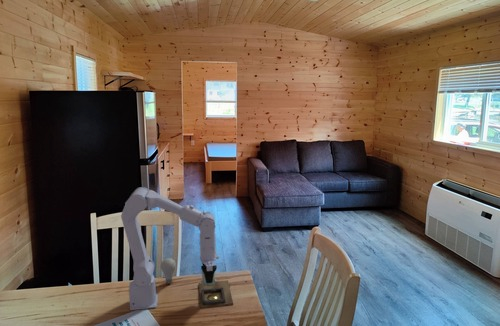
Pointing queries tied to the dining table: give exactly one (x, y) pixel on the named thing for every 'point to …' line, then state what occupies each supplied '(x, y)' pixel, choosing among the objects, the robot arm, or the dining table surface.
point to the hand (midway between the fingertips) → (208, 278)
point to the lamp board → (217, 285)
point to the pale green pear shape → (205, 280)
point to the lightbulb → (168, 269)
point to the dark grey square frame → (213, 296)
